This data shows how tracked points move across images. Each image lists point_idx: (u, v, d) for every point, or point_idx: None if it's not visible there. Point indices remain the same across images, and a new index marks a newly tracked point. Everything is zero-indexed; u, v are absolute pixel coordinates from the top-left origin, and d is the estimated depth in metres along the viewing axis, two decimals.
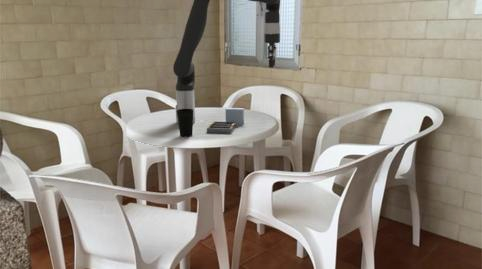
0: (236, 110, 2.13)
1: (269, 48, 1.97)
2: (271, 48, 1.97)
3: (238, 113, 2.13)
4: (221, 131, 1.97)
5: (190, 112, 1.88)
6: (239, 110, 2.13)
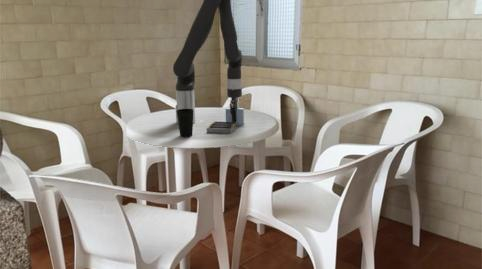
0: None
1: (231, 106, 2.08)
2: (233, 106, 2.08)
3: (238, 113, 2.13)
4: (221, 131, 1.97)
5: (190, 112, 1.88)
6: (239, 110, 2.13)
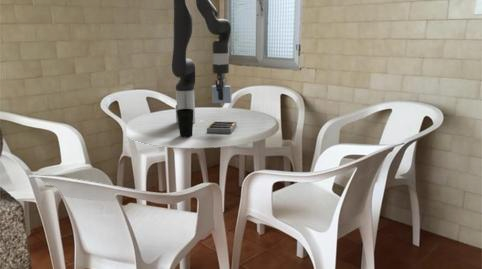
0: (223, 87, 1.98)
1: (217, 83, 1.93)
2: (219, 83, 1.93)
3: (225, 91, 1.98)
4: (221, 131, 1.97)
5: (190, 112, 1.88)
6: (226, 87, 1.98)
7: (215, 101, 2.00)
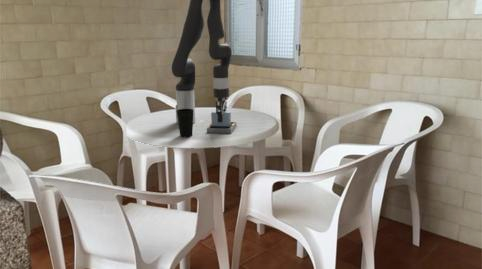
0: None
1: (217, 104, 1.95)
2: (219, 104, 1.95)
3: (224, 117, 2.01)
4: (221, 131, 1.97)
5: (190, 112, 1.88)
6: (225, 113, 2.01)
7: None
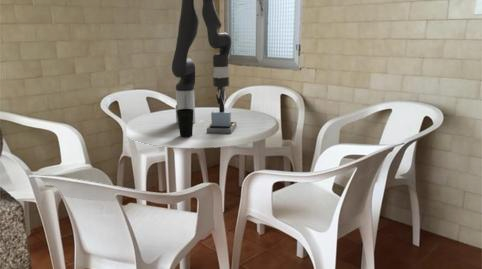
0: (222, 113, 2.01)
1: (217, 97, 1.95)
2: (219, 97, 1.95)
3: (224, 117, 2.01)
4: (221, 131, 1.97)
5: (190, 112, 1.88)
6: (225, 113, 2.01)
7: None
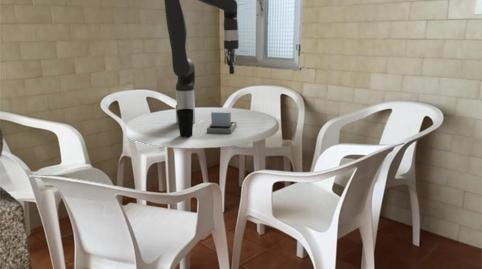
0: (222, 113, 2.01)
1: (227, 59, 2.08)
2: (229, 59, 2.08)
3: (224, 117, 2.01)
4: (221, 131, 1.97)
5: (190, 112, 1.88)
6: (225, 113, 2.01)
7: None
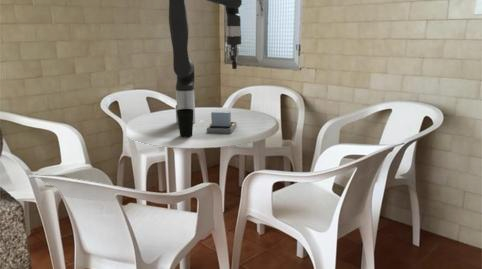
0: (222, 113, 2.01)
1: (231, 54, 2.14)
2: (232, 54, 2.14)
3: (224, 117, 2.01)
4: (221, 131, 1.97)
5: (190, 112, 1.88)
6: (225, 113, 2.01)
7: None
